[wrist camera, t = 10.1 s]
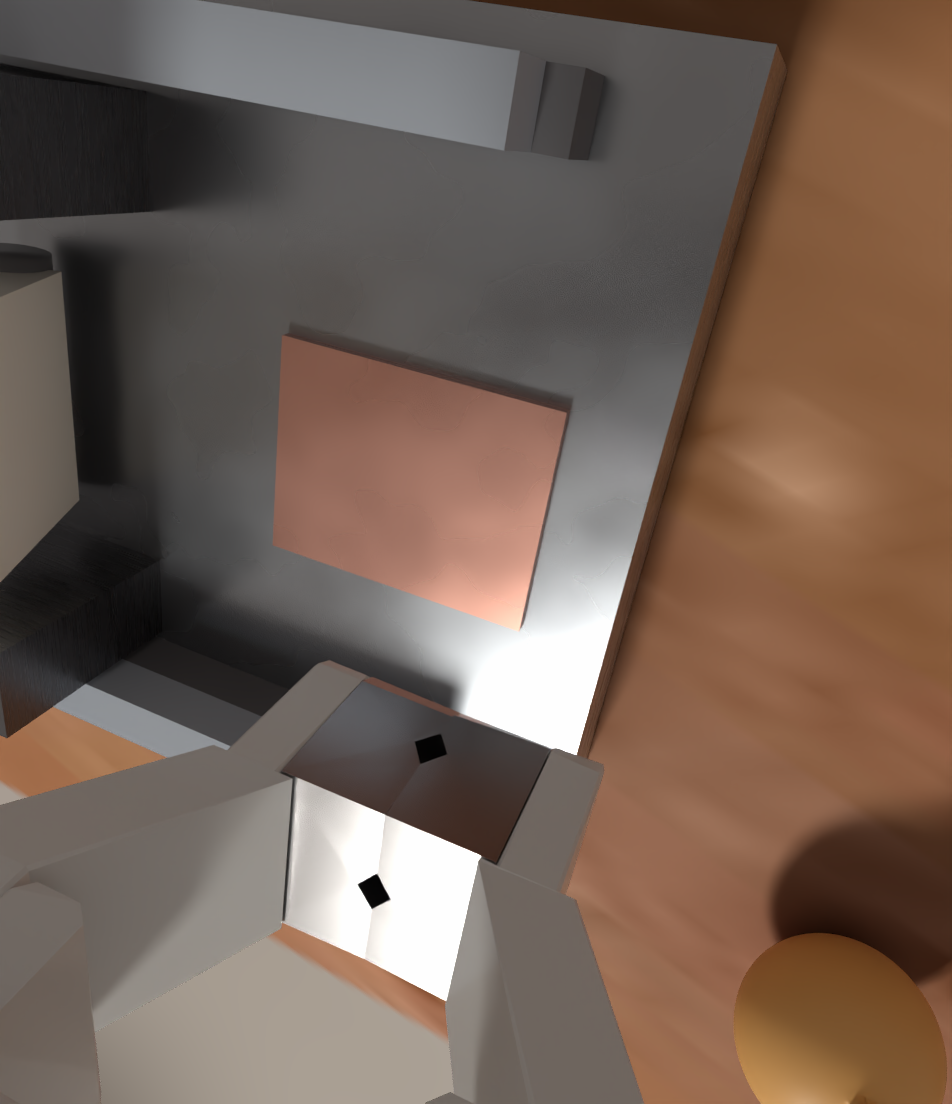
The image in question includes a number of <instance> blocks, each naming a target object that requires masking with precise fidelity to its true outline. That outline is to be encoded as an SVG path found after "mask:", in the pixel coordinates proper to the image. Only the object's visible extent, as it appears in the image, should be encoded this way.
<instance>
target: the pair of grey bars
mask: <svg viewBox="0 0 952 1104" xmlns="http://www.w3.org/2000/svg"><path fill="white" fill-rule="evenodd" d="M0 54H2V55H7V56H12V57H18V58H23V59H28V60H33V61H38V62H44V63H49V64H54V65H59V66H65V67H70V68H75V69H80V70H86V71H91V72H96V73H101V74H106V75H112V76H117V77H122V78H127V79H133V80H138V81H143V82H148V83H153V84H159V85H164V86H169V87H174V88H180V89H185V90H190V91H195V92H201V93H206V94H211V95H216V96H221V97H227V98H232V99H237V100H242V101H248V102H253V103H258V104H263V105H269V106H274V107H279V108H284V109H289V110H295V111H300V112H305V113H310V114H316V115H321V116H326V117H331V118H336V119H342V120H347V121H352V122H357V123H363V124H368V125H373V126H378V127H384V128H389V129H394V130H399V131H404V132H410V133H415V134H420V135H425V136H431V137H436V138H441V139H446V140H452V141H457V142H462V143H467V144H472V145H478V146H483V147H488V148H493V149H499V150H504V151H518V152H531V153H537V154H542V155H547V156H552V157H558V158H563V159H568V160H588V158H589V153H590V148H591V143H592V139H593V134H594V129H595V124H596V119H597V114H598V109H599V104H600V99H601V94H602V89H603V84H604V79H605V76H604V75H602V74H600V73H597V72H595V71H593V70H590V69H588V68H586V67H580V66H573V65H567V64H561V63H555V62H548V61H544V60H542V59H539V58H537V57H534V56H532V55H529V54H527V53H524V52H522V51H518V50H512V49H505V48H499V47H493V46H486V45H480V44H474V43H467V42H461V41H454V40H448V39H442V38H435V37H429V36H423V35H416V34H410V33H403V32H397V31H391V30H384V29H378V28H372V27H365V26H359V25H353V24H346V23H340V22H333V21H327V20H321V19H314V18H308V17H302V16H295V15H289V14H282V13H276V12H270V11H263V10H257V9H251V8H244V7H238V6H232V5H225V4H219V3H212V2H206V1H200V0H0ZM288 691H289V689H286V688H284V687H281V686H279V685H276V684H274V683H271V682H269V681H266V680H264V679H261V678H259V677H256V676H254V675H251V674H249V673H246V672H244V671H241V670H239V669H236V668H234V667H231V666H229V665H226V664H224V663H221V662H219V661H217V660H214V659H212V658H209V657H207V656H204V655H202V654H199V653H197V652H194V651H192V650H189V649H187V648H184V647H182V646H179V645H177V644H174V643H172V642H169V641H167V640H164V639H162V638H159V637H157V636H155V637H153V638H152V639H150V640H149V641H147V642H146V643H144V644H143V645H142V646H140V647H139V648H137V649H136V650H134V651H133V652H131V653H130V654H129V655H127V656H126V657H124V658H123V659H121V660H120V661H118V662H117V663H115V664H114V665H113V666H111V667H110V668H108V669H107V670H105V671H104V672H102V673H101V674H100V675H98V676H97V677H95V678H94V679H92V680H91V681H89V682H88V683H86V684H85V685H84V686H82V687H81V688H79V689H78V690H76V691H75V692H73V693H72V694H70V695H69V696H68V697H66V698H65V699H63V700H62V701H60V702H59V703H57V704H56V705H55V706H53V707H55V708H57V709H59V710H62V711H64V712H66V713H68V714H71V715H73V716H75V717H77V718H80V719H82V720H84V721H86V722H89V723H91V724H93V725H95V726H98V727H100V728H102V729H104V730H107V731H109V732H111V733H113V734H116V735H118V736H120V737H122V738H125V739H127V740H129V741H131V742H134V743H136V744H138V745H140V746H143V747H145V748H147V749H149V750H152V751H154V752H156V753H158V754H161V755H163V756H165V757H167V758H169V757H172V756H176V755H180V754H183V753H187V752H190V751H194V750H197V749H201V748H204V747H208V746H211V745H215V746H218V747H220V748H223V749H225V750H228V749H229V748H230V747H231V746H232V745H233V744H234V743H235V742H236V741H237V740H238V739H239V738H240V737H241V736H242V735H243V734H244V733H245V732H246V731H247V730H248V729H249V728H251V727H252V726H253V725H254V724H255V723H256V722H257V721H258V720H259V719H260V718H261V717H262V716H263V715H264V714H265V713H266V712H267V711H268V710H269V709H270V708H271V707H272V706H273V705H274V704H275V703H276V702H278V701H279V700H280V699H281V698H282V697H283V696H284V695H285V694H286V693H287V692H288Z"/></svg>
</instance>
